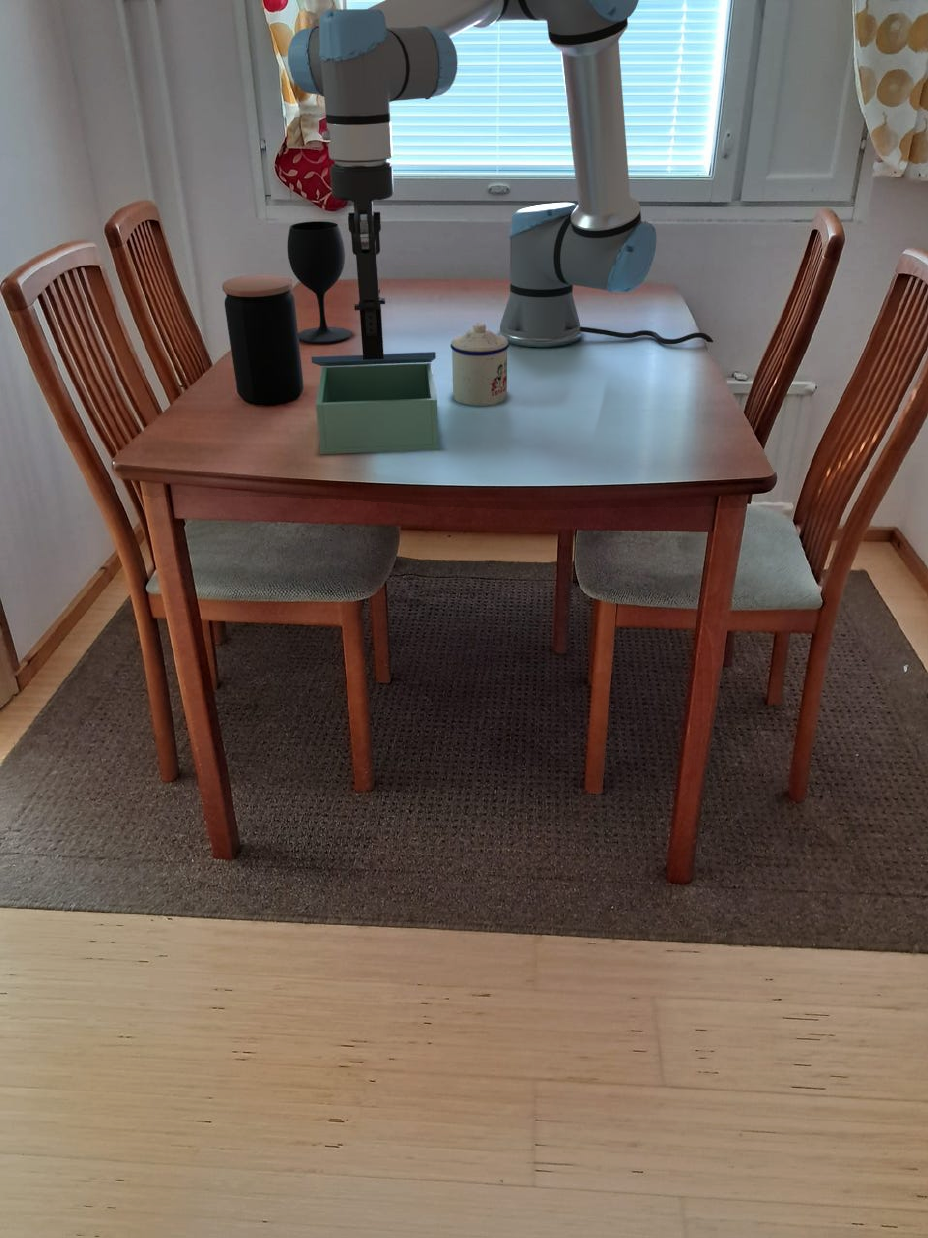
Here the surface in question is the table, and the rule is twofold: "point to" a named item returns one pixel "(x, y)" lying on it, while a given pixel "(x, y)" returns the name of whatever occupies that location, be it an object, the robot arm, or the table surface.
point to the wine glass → (318, 270)
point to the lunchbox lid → (387, 359)
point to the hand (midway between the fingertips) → (373, 357)
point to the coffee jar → (264, 339)
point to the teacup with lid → (479, 367)
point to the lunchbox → (377, 408)
